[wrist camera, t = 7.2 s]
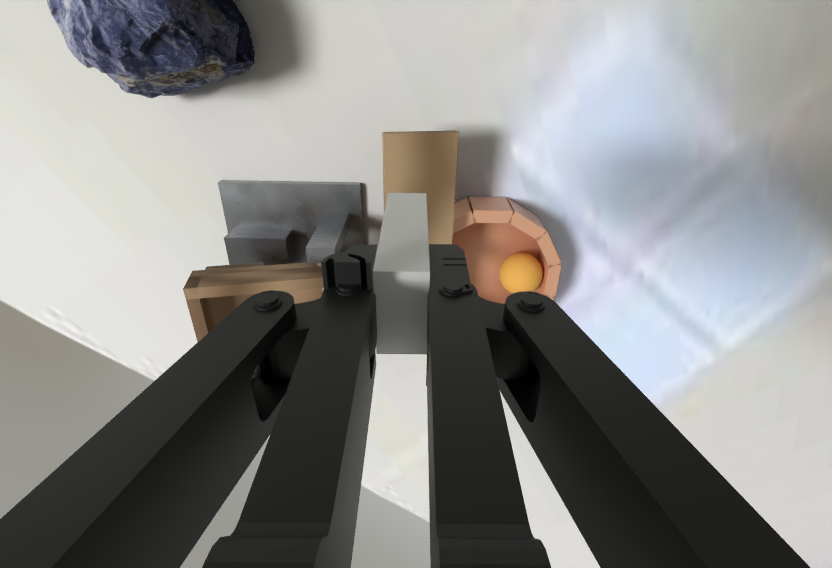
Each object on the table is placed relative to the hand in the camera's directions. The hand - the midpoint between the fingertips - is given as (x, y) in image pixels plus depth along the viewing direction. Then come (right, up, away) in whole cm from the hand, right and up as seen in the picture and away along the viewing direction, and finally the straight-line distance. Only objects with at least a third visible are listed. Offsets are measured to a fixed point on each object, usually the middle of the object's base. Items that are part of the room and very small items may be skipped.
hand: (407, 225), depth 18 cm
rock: (-17, +17, +13) cm, 27 cm away
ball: (+9, -1, +20) cm, 22 cm away
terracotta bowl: (+6, 0, +22) cm, 23 cm away
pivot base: (-10, 0, +22) cm, 24 cm away
